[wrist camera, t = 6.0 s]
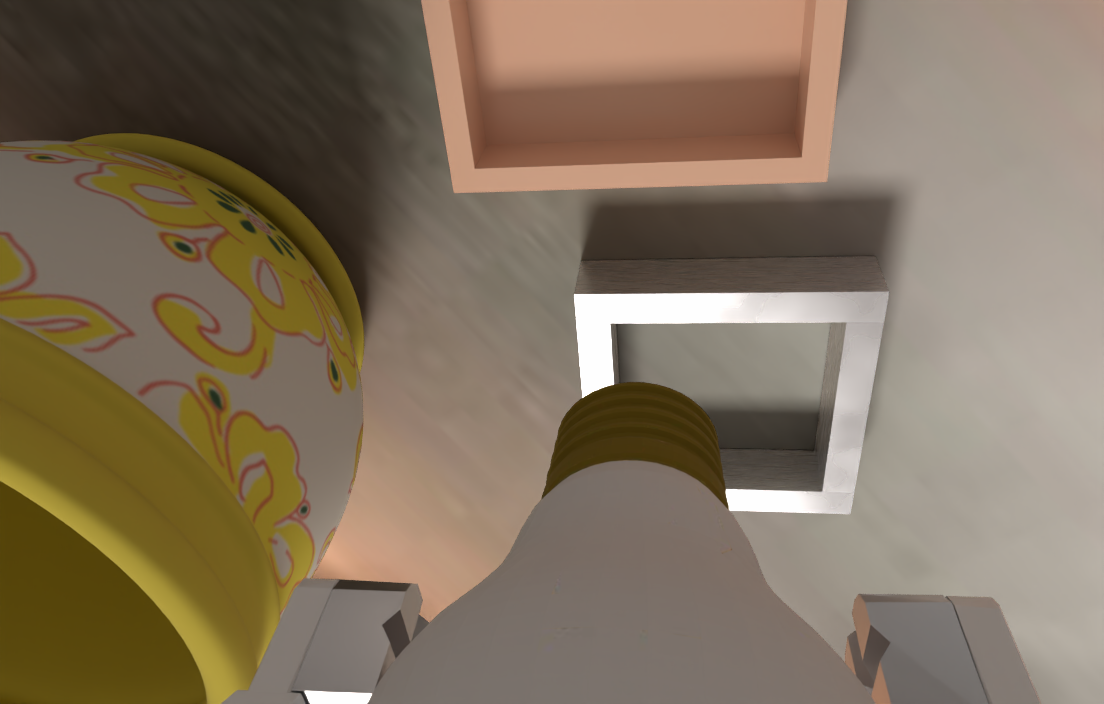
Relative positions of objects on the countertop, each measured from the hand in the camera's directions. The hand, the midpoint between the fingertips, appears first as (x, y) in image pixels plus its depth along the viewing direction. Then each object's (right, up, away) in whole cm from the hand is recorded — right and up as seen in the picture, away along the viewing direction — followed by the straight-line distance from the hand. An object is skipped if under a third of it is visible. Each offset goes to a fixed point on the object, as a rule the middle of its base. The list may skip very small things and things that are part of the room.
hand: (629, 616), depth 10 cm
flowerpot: (-15, +6, +23) cm, 28 cm away
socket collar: (+6, +2, +22) cm, 23 cm away
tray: (+1, +15, +14) cm, 20 cm away
